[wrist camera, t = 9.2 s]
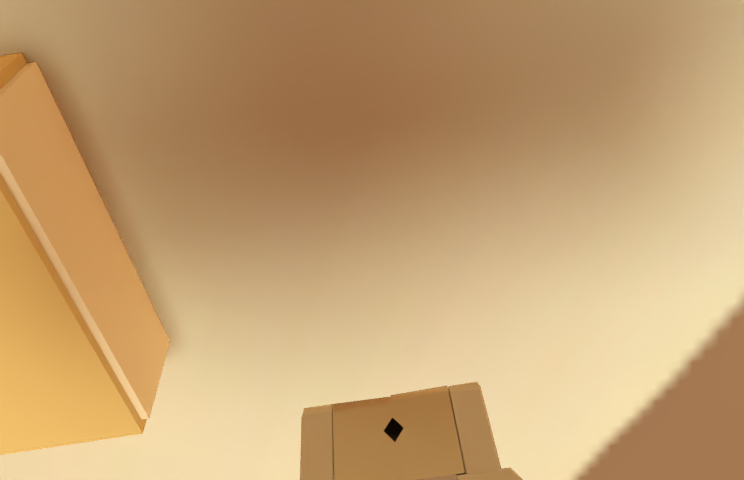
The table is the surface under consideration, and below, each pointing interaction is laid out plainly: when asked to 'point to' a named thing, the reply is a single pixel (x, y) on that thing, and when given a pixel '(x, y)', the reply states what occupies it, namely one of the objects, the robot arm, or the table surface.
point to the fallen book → (64, 287)
